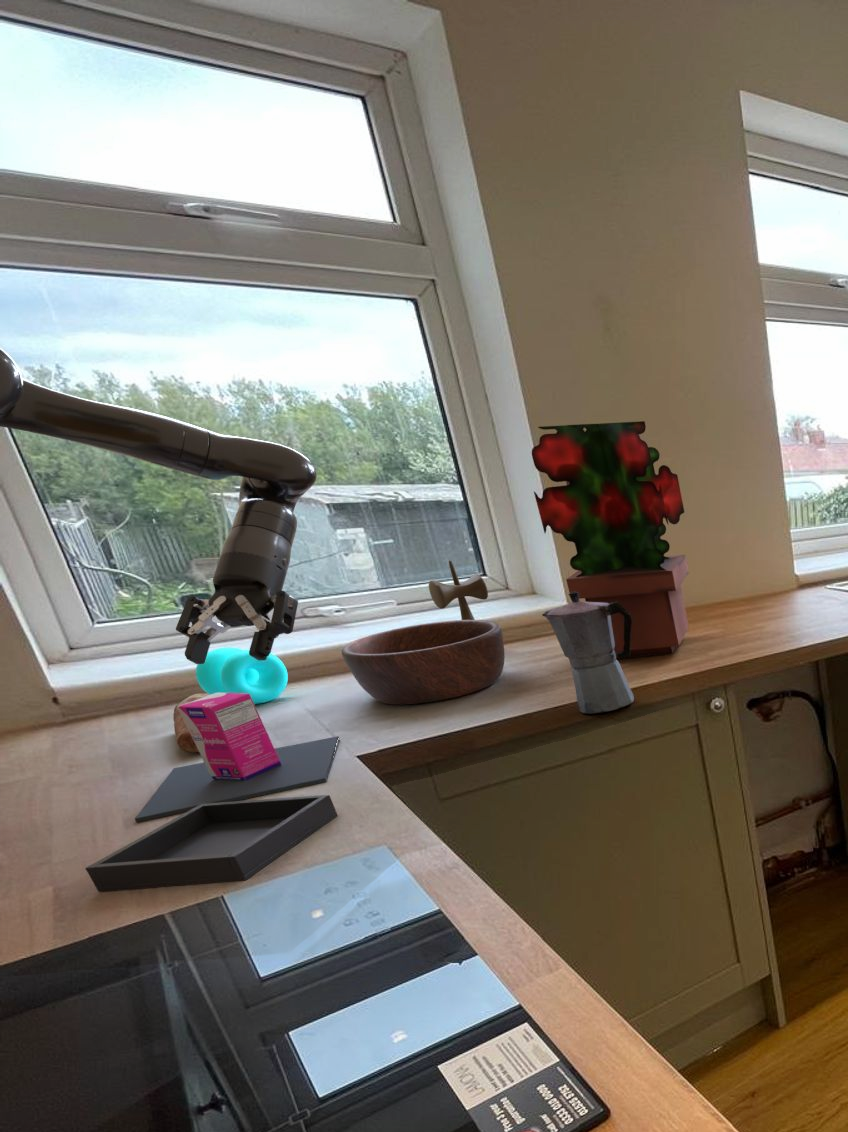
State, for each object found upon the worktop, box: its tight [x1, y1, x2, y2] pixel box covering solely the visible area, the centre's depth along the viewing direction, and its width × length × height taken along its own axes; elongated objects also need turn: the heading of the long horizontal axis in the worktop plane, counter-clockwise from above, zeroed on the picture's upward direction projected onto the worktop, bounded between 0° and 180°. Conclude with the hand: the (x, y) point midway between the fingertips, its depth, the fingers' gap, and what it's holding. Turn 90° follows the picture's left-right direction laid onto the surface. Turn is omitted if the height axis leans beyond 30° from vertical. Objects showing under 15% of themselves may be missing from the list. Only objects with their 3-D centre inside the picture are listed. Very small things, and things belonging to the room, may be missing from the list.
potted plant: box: [531, 420, 690, 660], centre depth 165 cm, size 22×22×45 cm
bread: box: [172, 693, 210, 753], centre depth 133 cm, size 6×19×6 cm, turn 38°
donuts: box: [195, 646, 289, 705], centre depth 150 cm, size 10×10×10 cm
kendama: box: [428, 560, 489, 620], centre depth 173 cm, size 6×10×20 cm, turn 142°
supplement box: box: [177, 693, 282, 780], centre depth 116 cm, size 6×6×12 cm
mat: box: [134, 736, 340, 823], centre depth 118 cm, size 20×20×1 cm
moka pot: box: [541, 592, 635, 715], centre depth 137 cm, size 10×15×20 cm, turn 88°
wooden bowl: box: [341, 619, 506, 705], centre depth 152 cm, size 25×25×10 cm
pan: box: [84, 794, 339, 893], centre depth 97 cm, size 16×16×3 cm
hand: (226, 659), depth 116 cm, fingers open, 8 cm apart
